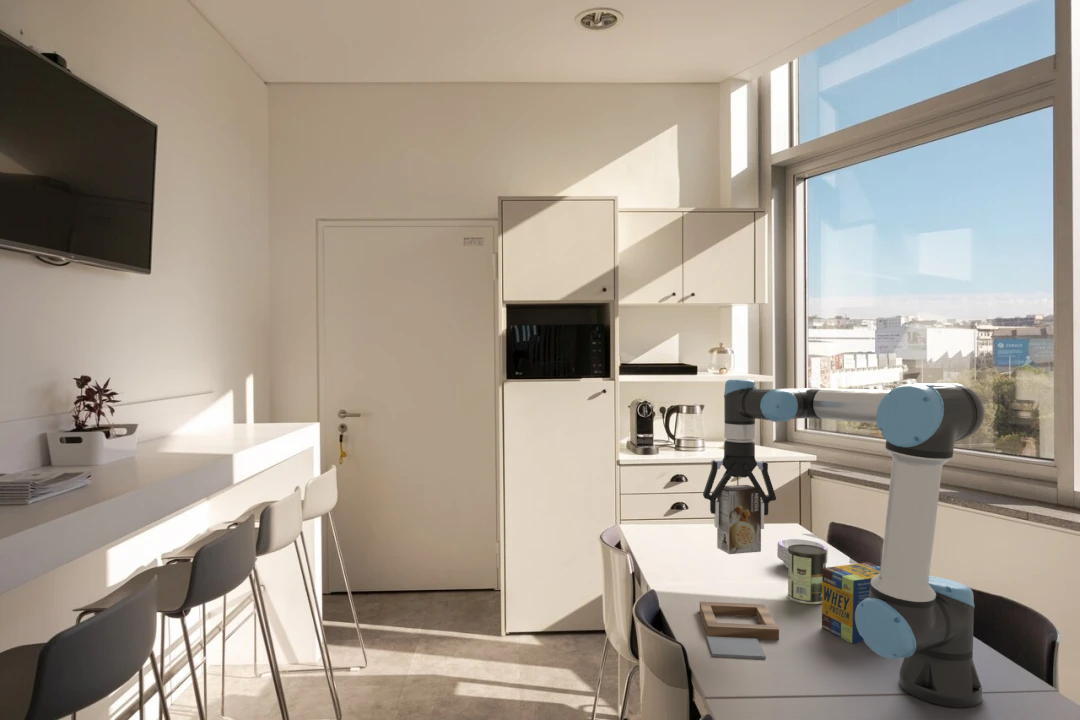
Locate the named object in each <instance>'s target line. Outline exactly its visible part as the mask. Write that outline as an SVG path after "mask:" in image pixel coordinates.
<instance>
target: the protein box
mask: <svg viewBox="0 0 1080 720" xmlns="http://www.w3.org/2000/svg"><path fill="white" fill-rule="evenodd" d="M880 570H881V566H878V565H876V564H874V563H871V562H868V561H866V562H865V561H864V562H860V563H852V564H842V565H835V566H830V567H829V566H828V567H827V566H826V568H823V574H822V604H821V629H823V630H826V631H827V632H829V633H831V634H832V635H835V636H836V637H839V638H841V639H842V640H845V641H847V642H848V643H851V644H855V643H862V642H864V639H863V637H862V636H860V634H859V632H858V629H857V627H856V623H855V611H856V608H857V606H858V604H859V603H860V602H862V601H863V600H864V599H866V598H869V592H870V583H871V579H872V578H873V577H875V576H876V575H878V574H880Z"/></svg>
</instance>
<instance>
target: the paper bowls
mask: <svg viewBox="0 0 1080 720" xmlns="http://www.w3.org/2000/svg"><path fill="white" fill-rule="evenodd" d="M797 544H804V545H813V546H818V547H821V548H823V549H825V550H826V551H827V553H826V564H828V558H829V557H828V552H829V551H828V550H829V549H828V547H827V545H825V544H823V543H821V542H818V541H816V540H815V541H814V540H811V539H806V538H791V537H790V538H783V539H780V540H778V541H777V550H776V551H777V558H778V559H779V560H781V561H783V562H782V563H783V564H784V566H785V567H786V568H787V569H788V547H789V546H791V545H797Z"/></svg>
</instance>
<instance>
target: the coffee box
mask: <svg viewBox="0 0 1080 720" xmlns="http://www.w3.org/2000/svg"><path fill="white" fill-rule="evenodd" d="M716 500H718V502H719V528H716V529H717V532H716V535H717V536H716V539H717V541H716V543H717V544H716V546H717V549H719V550H721V551H723V552H724V553H726V554H728V555H736V554H737V555H740V554H748V553H749V554H752V553H759V552H760V553H761V552H762V529H761V501H762V498H761V489H756V488H755V487H754V485H749V484H735V485H733V484H732V485H725V487H724V488H722V491H721V493H720V494H719V496H718V498H717V499H716Z"/></svg>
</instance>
